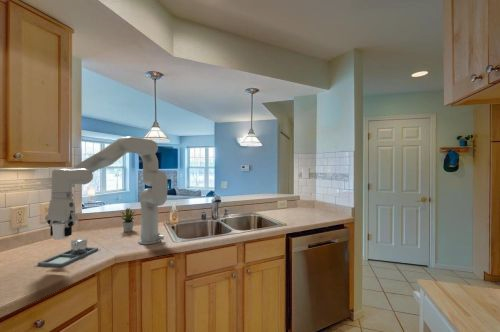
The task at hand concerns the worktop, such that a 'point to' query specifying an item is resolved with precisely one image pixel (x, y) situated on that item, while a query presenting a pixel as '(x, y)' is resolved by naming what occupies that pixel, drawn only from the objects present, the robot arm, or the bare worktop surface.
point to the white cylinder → (59, 230)
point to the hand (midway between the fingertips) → (61, 234)
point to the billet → (79, 246)
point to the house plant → (127, 220)
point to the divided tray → (65, 259)
